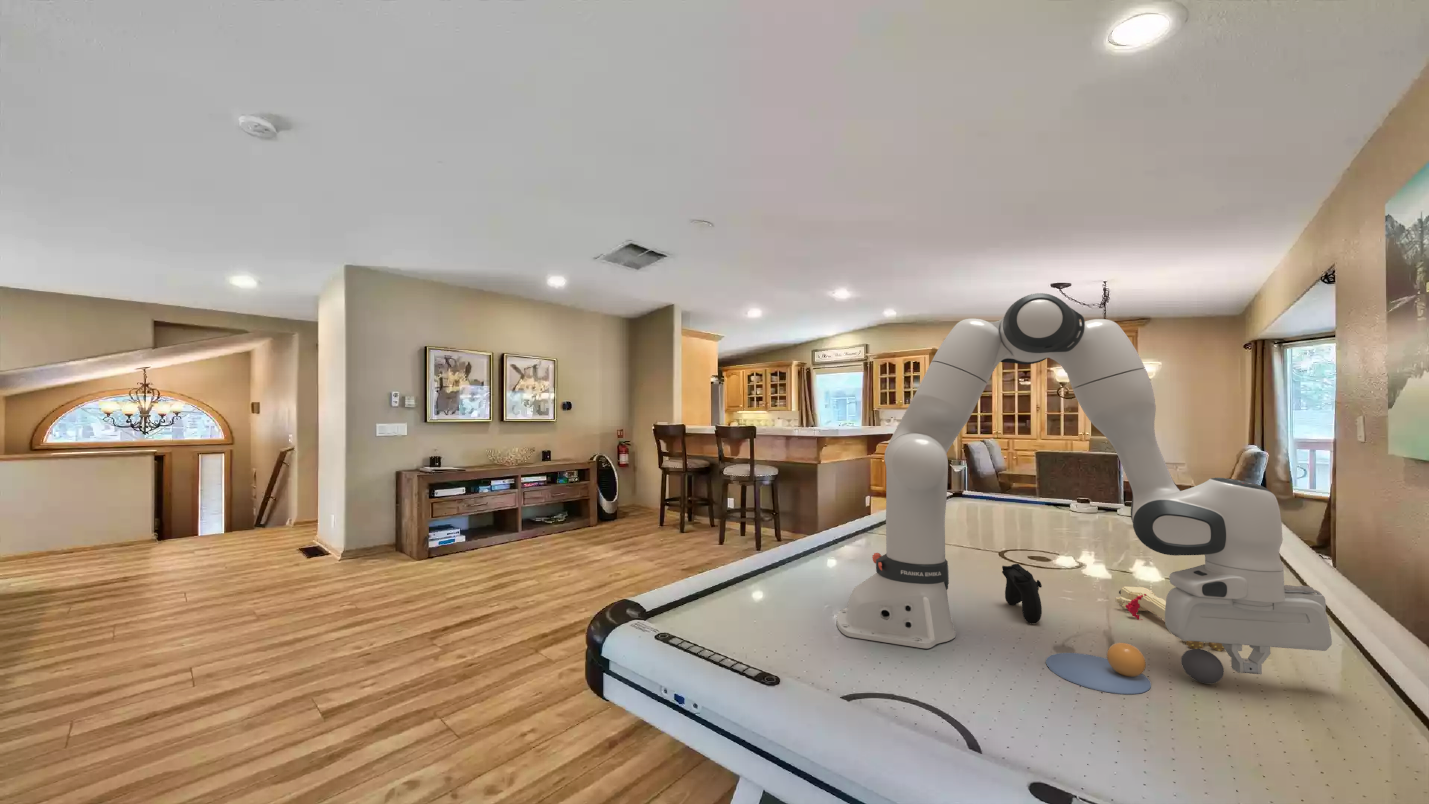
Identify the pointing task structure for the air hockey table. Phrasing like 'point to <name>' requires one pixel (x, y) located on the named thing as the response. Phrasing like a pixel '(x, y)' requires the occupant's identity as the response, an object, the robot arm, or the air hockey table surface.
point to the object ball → (1126, 659)
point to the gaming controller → (1023, 591)
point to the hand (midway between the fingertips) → (1246, 672)
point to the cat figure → (1152, 609)
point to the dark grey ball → (1202, 666)
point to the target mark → (1095, 674)
